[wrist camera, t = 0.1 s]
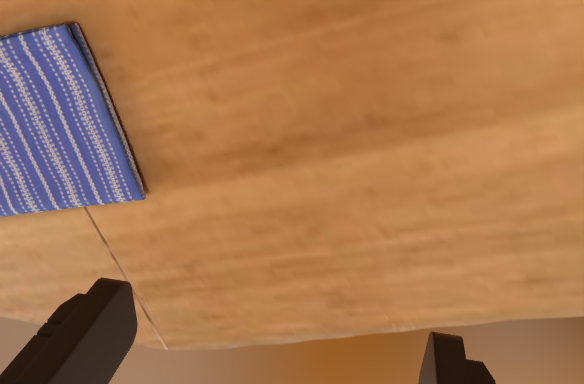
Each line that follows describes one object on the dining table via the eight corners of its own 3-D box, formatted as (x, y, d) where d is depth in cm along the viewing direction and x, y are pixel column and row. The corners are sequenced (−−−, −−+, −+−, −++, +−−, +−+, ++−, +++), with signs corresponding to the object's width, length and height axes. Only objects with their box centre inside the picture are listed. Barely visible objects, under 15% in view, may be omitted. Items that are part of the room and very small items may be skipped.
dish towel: (-131, 65, 47) (-159, 73, 45) (79, 13, 41) (58, 20, 38) (-37, 217, 55) (-58, 231, 52) (151, 194, 48) (138, 209, 46)
